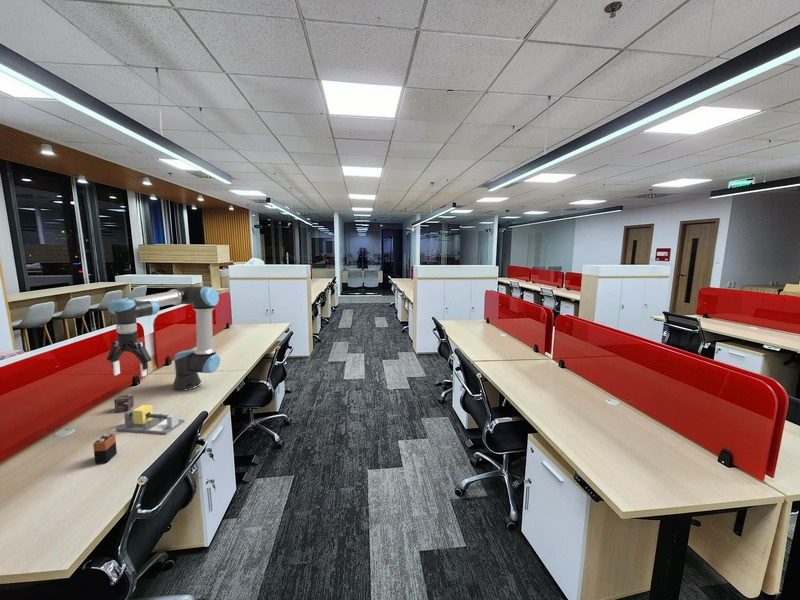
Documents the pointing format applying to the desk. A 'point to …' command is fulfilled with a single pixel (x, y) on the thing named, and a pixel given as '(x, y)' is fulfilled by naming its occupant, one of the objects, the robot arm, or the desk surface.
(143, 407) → the sleeve
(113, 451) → the battery
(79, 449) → the desk surface
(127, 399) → the box
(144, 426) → the gray rail plate
